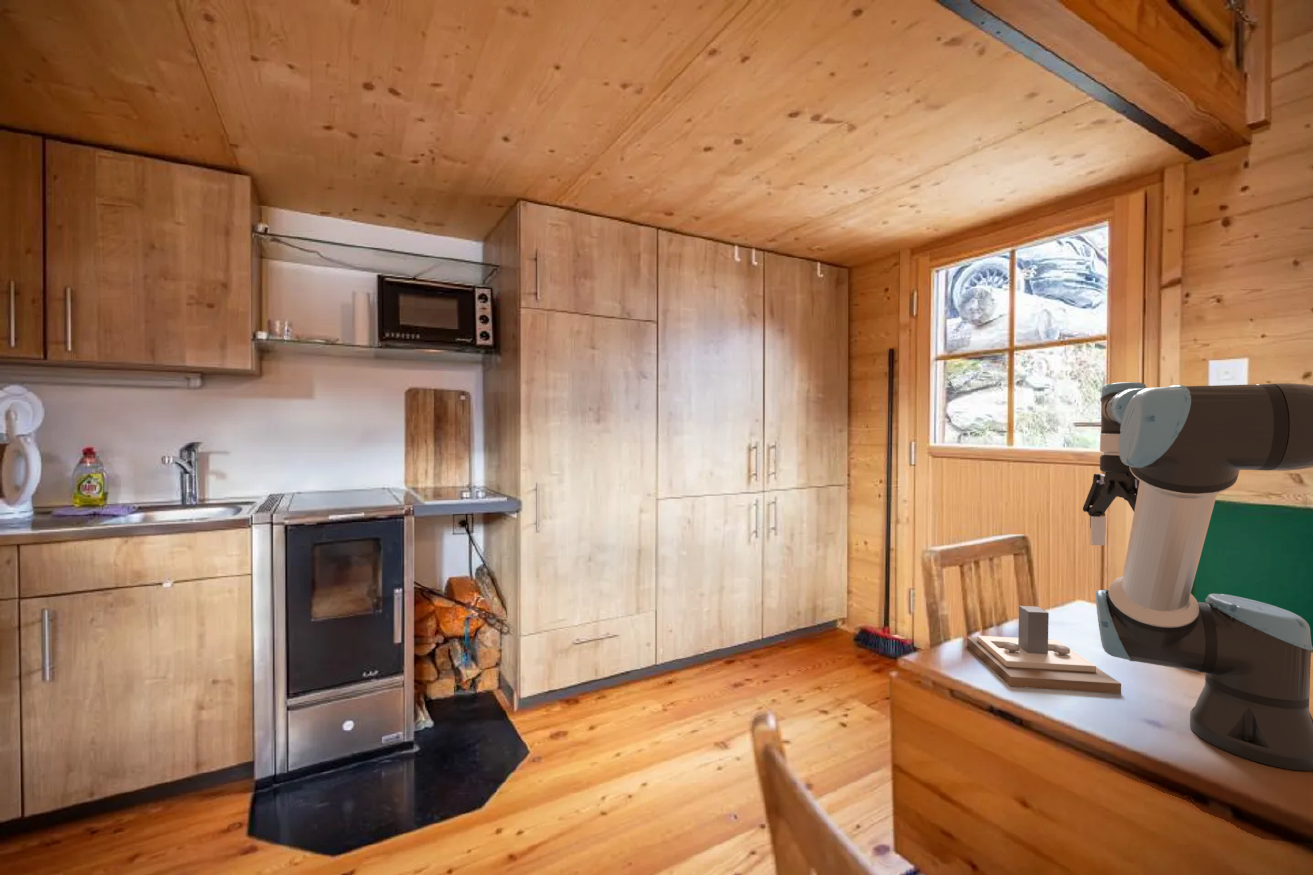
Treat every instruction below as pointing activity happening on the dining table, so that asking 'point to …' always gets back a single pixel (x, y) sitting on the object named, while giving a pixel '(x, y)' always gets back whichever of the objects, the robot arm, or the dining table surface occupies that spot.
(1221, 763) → the dining table surface
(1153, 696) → the dining table surface
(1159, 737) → the dining table surface
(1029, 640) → the panel
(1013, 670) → the board
